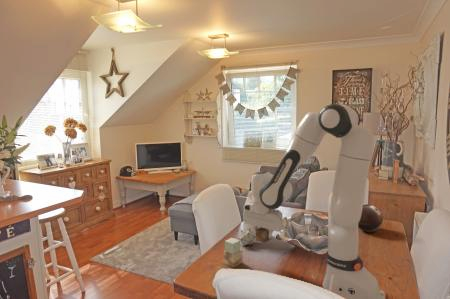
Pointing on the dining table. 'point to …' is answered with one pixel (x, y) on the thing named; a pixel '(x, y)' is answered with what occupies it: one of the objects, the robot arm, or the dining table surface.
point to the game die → (246, 237)
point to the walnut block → (262, 235)
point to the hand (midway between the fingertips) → (263, 236)
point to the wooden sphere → (370, 218)
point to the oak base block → (233, 258)
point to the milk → (247, 226)
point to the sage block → (232, 245)
